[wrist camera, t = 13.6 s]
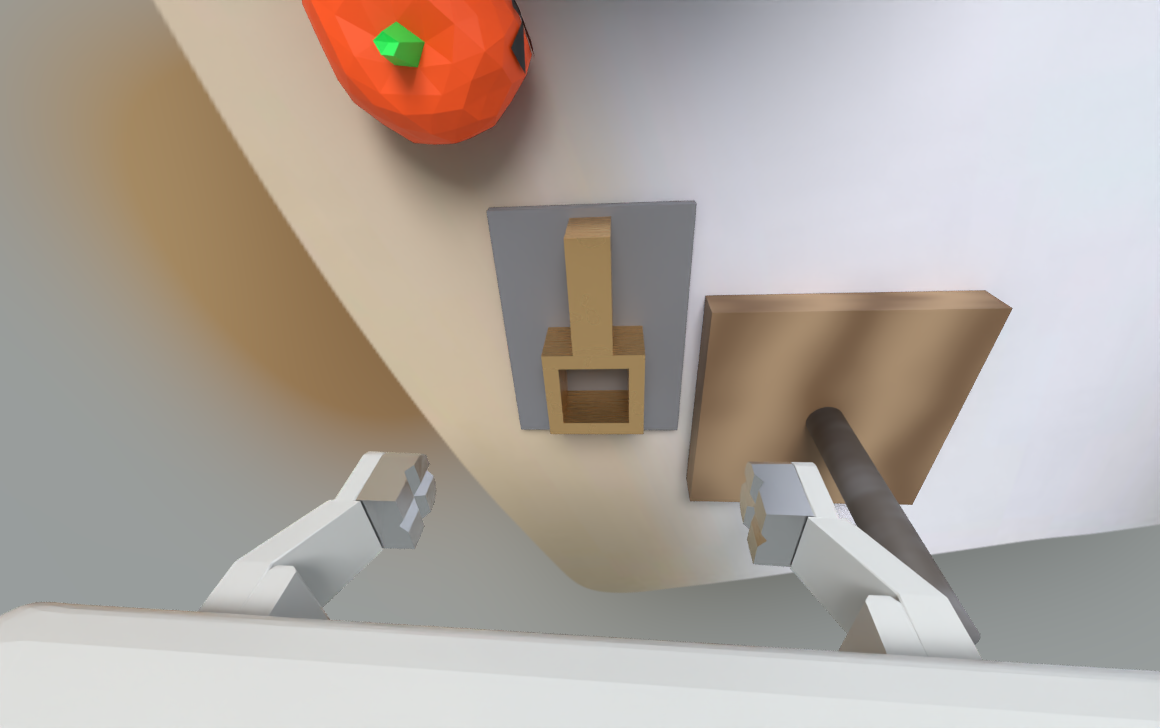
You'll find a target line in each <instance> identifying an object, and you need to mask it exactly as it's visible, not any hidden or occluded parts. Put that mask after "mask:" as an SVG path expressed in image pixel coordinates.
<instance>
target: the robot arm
mask: <svg viewBox="0 0 1160 728" xmlns="http://www.w3.org/2000/svg"><path fill="white" fill-rule="evenodd" d="M428 467H429V461H428V458H427V456H426V455H424V454H416V453H397V452H367V453H366V454H364V455H363V456H362V458H361V460H360V461H359V463H358V464H357V466H356V467H355V469H354V470H353V472H352V473H351V475H350V476H349V478H348V480H347V481H346V483H345V484H344V486H343V487H342V489H341V490H340V492H339V493H338V495H337V497H336V498H335V500H328V501H327V502H325V503H324V504H322V505H320V506H319V507H318V508H316V509H315V510H313V511H311V512H310V513H308V514H307V515H305V516H304V517H302V518H301V519H299V520H298V521H296V522H295V523H293V524H292V525H290V526H288V527H287V528H286V529H284V530H282V531H281V532H279V533H278V534H276V535H275V536H273V537H272V538H270V539H269V540H267V541H266V542H264V543H263V544H261V545H260V546H258V547H256V548H255V549H253V550H252V551H250V552H249V553H248V554H246V555H244V556H243V557H241V558H240V559H238V560H237V561H235V563H234V564H233V565H232V566H231V568H230V569H229V570H228V572H227V573H226V574H225V576H224V577H223V578H222V580H221V581H220V582H219V583H218V585H217V586H216V587H215V589H214V590H213V591H212V593H211V594H210V595H209V597H208V598H207V599H206V601H205V602H204V603H203V605H202V606H201V607H200V608H199V610H198V611H197V612H196V611H180V610H164V609H148V608H147V609H146V608H131V607H115V606H100V605H99V606H98V605H83V604H69V603H57V602H35V603H31V604H26V605H23V606H20V607H17V608H15V609H13V610H11V611H9V612H7V613H4V614H2V615H0V728H1160V671H1152V670H1136V669H1119V668H1102V667H1086V666H1069V665H1054V664H1038V663H1021V662H1004V661H988V660H983V659H982V657H981V655H980V654H979V652H978V650H977V648H976V647H975V645H974V643H973V642H972V640H971V638H970V636H969V635H968V633H967V631H966V629H965V628H964V626H963V624H962V622H961V621H960V619H959V617H958V615H957V614H956V612H955V610H954V608H953V607H952V605H951V603H950V602H949V600H948V598H947V597H946V596H945V595H943V594H942V593H941V592H940V591H938V590H937V589H936V588H934V587H933V586H932V585H931V584H929V583H928V582H927V581H926V580H924V579H923V578H922V577H920V576H919V575H918V574H917V573H915V572H914V571H913V570H912V569H910V568H909V567H908V566H907V565H905V564H904V563H903V562H901V561H900V560H899V559H898V558H896V557H895V556H894V555H893V554H891V553H890V552H889V551H888V550H886V549H885V548H884V547H882V546H881V545H880V544H879V543H877V542H876V541H875V540H874V539H872V538H871V537H870V536H869V535H867V534H866V533H865V532H863V531H862V530H861V529H860V528H858V527H857V526H856V525H855V524H853V523H852V522H851V521H850V520H848V519H847V518H840V517H839V514H838V512H837V510H836V508H835V506H834V503H833V501H832V499H831V497H830V495H829V493H828V490H827V488H826V486H825V484H824V482H823V479H822V477H821V475H820V473H819V471H818V468H817V466H816V465H815V464H814V463H813V462H758V461H748V462H747V464H746V467H745V472H744V473H745V477H746V482H745V483H744V484H742V486H741V492H740V509H741V516H742V520H743V524H745V525H746V526H747V527H748V528H749V533H748V537H747V541H748V545H749V549H750V553H751V557H752V561H753V564H759V565H773V566H787V567H791V568H790V569H791V570H792V571H793V572H794V573H795V574H796V575H797V577H798V578H799V579H800V580H801V581H802V583H803V584H804V585H805V586H806V587H807V588H808V589H809V591H810V592H811V593H812V594H813V595H814V596H815V597H816V599H817V600H818V601H819V602H820V603H821V604H822V605H823V607H824V608H825V609H826V610H827V611H828V612H829V614H830V615H831V616H832V617H833V618H834V619H835V621H837V623H838V624H839V625H840V626H841V627H842V629H843V630H844V631H845V632H846V633H847V636H846V638H845V639H844V641H843V643H842V645H841V647H840V649H839V651H827V650H810V649H795V648H777V647H762V646H746V645H730V644H713V643H697V642H681V641H664V640H649V639H648V640H647V639H632V638H616V637H599V636H583V635H566V634H551V633H550V634H549V633H534V632H517V631H501V630H485V629H468V628H452V627H437V626H421V625H405V624H403V625H402V624H388V623H372V622H356V621H340V620H330V619H329V617H328V616H327V614H326V613H325V611H324V610H323V607H324V606H325V605H326V604H327V603H328V602H329V601H330V600H331V599H332V598H333V597H334V596H335V595H337V594H338V593H339V592H340V591H341V590H342V589H343V588H344V587H345V586H346V585H347V584H348V583H349V582H350V581H351V580H352V579H353V578H354V577H355V576H356V575H357V574H359V573H360V572H361V571H362V570H363V569H364V568H365V567H366V566H367V565H368V564H369V563H370V562H371V561H372V560H373V559H374V558H375V557H376V556H377V555H379V553H381V552H382V551H383V548H397V549H415V548H416V545H417V543H418V541H419V538H420V536H421V533H422V532H423V529H424V527H425V526H424V523H423V520H422V518H424V517H425V516H426V515H427V514H429V513H430V512H431V510H432V508H433V505H434V502H435V496H436V482H435V479H434V476H433V475H432V474H431V473H429V472H428V471H427V469H428Z"/></svg>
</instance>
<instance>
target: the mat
mask: <svg viewBox="0 0 1160 728" xmlns="http://www.w3.org/2000/svg"><path fill="white" fill-rule="evenodd" d="M695 215H696V202H695V201H666V202H637V203H608V204H580V205H551V206H522V207H494V208H489V209H488V210H487V218H488V224H489V230H490V237H491V243H492V249H493V255H494V262H495V268H496V274H497V280H498V287H499V293H500V299H501V306H502V312H503V318H504V324H505V331H506V337H507V343H508V350H509V356H510V362H511V368H512V375H513V381H514V387H515V394H516V400H517V406H518V412H519V419H520V425H521V429H550V425H549V417H548V409H547V401H546V393H545V384H544V376H543V368H542V360H541V355H542V351H543V347H544V343H545V339H546V334H547V330H548V327H570V315H569V302H568V289H567V276H566V264H565V251H564V235H565V232H566V228H567V225H568V221H569V218H582V217H608V216H611V249H612V298H613V326H643V337H644V347H645V388H644V430H677V428H678V416H679V404H680V392H681V381H682V369H683V357H684V345H685V333H686V321H687V310H688V298H689V286H690V274H691V262H692V250H693V239H694V227H695ZM566 372H567V383H568V391H580V390H628V369H566Z"/></svg>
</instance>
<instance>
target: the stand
mask: <svg viewBox="0 0 1160 728" xmlns="http://www.w3.org/2000/svg"><path fill="white" fill-rule="evenodd" d="M1011 310H1012V308H1011V307H1010V306H1008V305H1007V304H1005V303H1004V302H1002V301H1001V300H999V299H997V298H996V297H994V296H993V295H991V294H990V293H988V292H987V291H985V290H981V291H928V292H874V293H820V294H767V295H713V296H706V298H705V308H704V317H703V326H702V336H701V345H700V355H699V364H698V373H697V383H696V392H695V402H694V411H693V420H692V430H691V439H690V449H689V458H688V467H687V477H686V479H687V485H688V491H689V497H690V501H719V502H740V492H741V486H742V484H744V483H745V482H746V477H745V473H744V472H745V467H746V464H747V462H748V461H758V462H813V463H814V464H815V465H816V466H817V468H818V471H819V473H820V475H821V477H822V479H823V482H824V484H825V486H826V488H827V490H828V493H829V495H830V497H831V499H832V501H833V503H842V504H846V505H847V507H848V509H849V511H850V513H851V515H852V517H853V519H854V521H855V523H856V525H857V527H858V528H860V529H861V530H862V531H863V532H865V533H866V534H867V535H869V536H870V537H871V538H872V539H874V540H875V541H876V542H877V543H879V544H880V545H881V546H882V547H884V548H885V549H886V550H888V551H889V552H890V553H891V554H893V555H894V556H895V557H896V558H898V559H899V560H900V561H901V562H903V563H904V564H905V565H907V566H908V567H909V568H910V569H912V570H913V571H914V572H915V573H917V574H918V575H919V576H920V577H922V578H923V579H924V580H926V581H927V582H928V583H929V584H931V585H932V586H933V587H934V588H936V589H937V590H938V591H940V592H941V593H942V594H943V595H945V596H946V597H947V598H948V600H949V602H950V603H951V605H952V607H953V608H954V610H955V612H956V614H957V615H958V617H959V619H960V621H961V622H962V624H963V626H964V628H965V629H966V631H967V633H968V635H969V636H970V638H971V640H972V642H973V643H974V645H975V644H976V643H977V642H978V641H979V640H980V633H979V632H978V630H977V628H976V627H975V625H974V624H973V622H972V620H971V619H970V617H969V615H968V614H967V612H966V611H965V609H964V608H963V606H962V604H961V603H960V601H959V599H958V598H957V596H956V595H955V593H954V592H953V590H952V588H951V587H950V585H949V583H948V582H947V580H946V579H945V577H944V575H943V574H942V572H941V571H940V569H939V567H938V566H937V564H936V563H935V561H934V559H933V558H932V556H931V555H930V553H929V551H928V550H927V548H926V547H925V545H924V543H923V542H922V540H921V539H920V537H919V535H918V534H917V532H916V531H915V529H914V527H913V526H912V524H911V522H910V521H909V519H908V518H907V516H906V514H905V513H904V511H903V510H902V508H901V506H900V505H899V504H903V505H912V504H913V502H914V500H915V498H916V496H917V494H918V492H919V490H920V489H921V487H922V485H923V483H924V481H925V479H926V477H927V475H928V473H929V471H930V469H931V467H932V465H933V463H934V461H935V459H936V457H937V455H938V453H939V451H940V449H941V447H942V445H943V443H944V442H945V440H946V438H947V436H948V434H949V432H950V430H951V428H952V426H953V424H954V422H955V420H956V418H957V416H958V414H959V412H960V410H961V408H962V406H963V404H964V402H965V400H966V398H967V396H968V395H969V393H970V391H971V389H972V387H973V385H974V383H975V381H976V379H977V377H978V375H979V373H980V371H981V369H982V367H983V365H984V363H985V361H986V359H987V357H988V355H989V353H990V351H991V349H992V348H993V346H994V344H995V342H996V340H997V338H998V336H999V334H1000V332H1001V330H1002V328H1003V326H1004V324H1005V322H1006V320H1007V318H1008V316H1009V314H1010V312H1011Z"/></svg>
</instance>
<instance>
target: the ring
mask: <svg viewBox="0 0 1160 728" xmlns="http://www.w3.org/2000/svg"><path fill="white" fill-rule="evenodd" d="M564 251H565V264H566V276H567V289H568V302H569V315H570V327H548V330H547V334H546V339H545V343H544V347H543V351H542V355H541V360H542V368H543V376H544V384H545V393H546V401H547V409H548V417H549V425H550V433H551V434H643V431H644V388H645V347H644V337H643V326H613V298H612V249H611V216H608V217H582V218H569V221H568V225H567V228H566V232H565V235H564ZM566 369H628V390H580V391H568V383H567V372H566Z"/></svg>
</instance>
